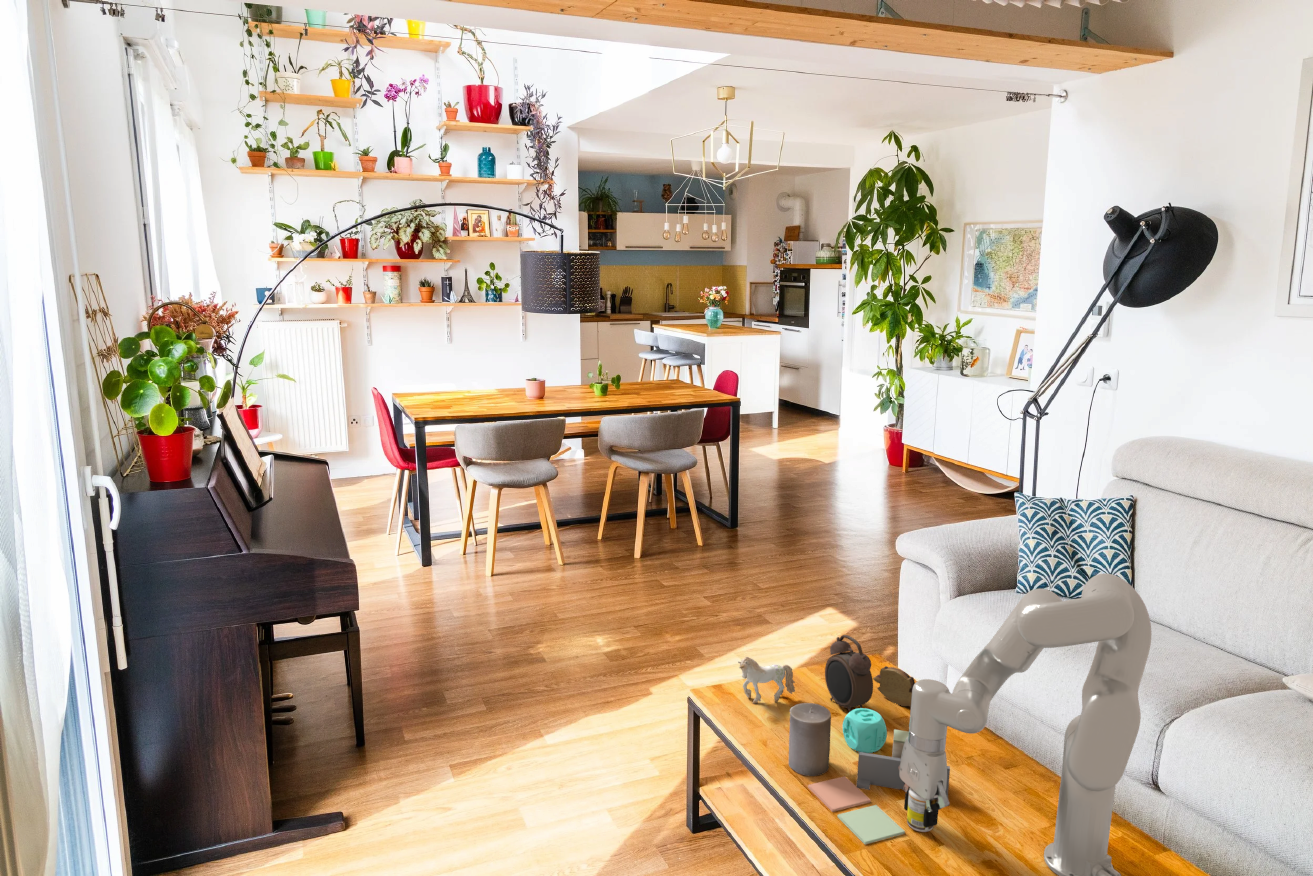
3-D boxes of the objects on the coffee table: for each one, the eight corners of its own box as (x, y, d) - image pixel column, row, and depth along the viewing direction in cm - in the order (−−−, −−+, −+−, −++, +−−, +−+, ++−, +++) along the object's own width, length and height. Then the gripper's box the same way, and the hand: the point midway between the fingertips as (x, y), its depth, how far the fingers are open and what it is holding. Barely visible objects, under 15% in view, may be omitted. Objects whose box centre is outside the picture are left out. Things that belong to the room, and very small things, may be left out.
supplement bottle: (927, 816, 192) (930, 773, 190) (937, 832, 187) (941, 788, 185) (902, 817, 191) (905, 775, 189) (912, 834, 186) (915, 790, 184)
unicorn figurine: (723, 702, 241) (724, 657, 239) (781, 688, 250) (783, 643, 248) (737, 714, 235) (739, 667, 233) (796, 699, 244) (799, 653, 242)
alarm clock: (819, 698, 245) (822, 630, 241) (840, 693, 248) (844, 626, 244) (851, 722, 232) (856, 651, 228) (873, 717, 235) (878, 646, 231)
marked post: (913, 771, 209) (916, 732, 207) (913, 783, 205) (916, 743, 203) (891, 768, 211) (894, 729, 209) (890, 779, 206) (893, 740, 204)
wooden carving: (930, 711, 238) (933, 677, 236) (921, 717, 235) (924, 682, 233) (877, 690, 250) (879, 657, 248) (868, 695, 247) (870, 662, 245)
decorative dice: (857, 756, 216) (859, 725, 214) (841, 739, 223) (842, 710, 222) (886, 751, 218) (888, 721, 217) (868, 735, 226) (870, 706, 224)
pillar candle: (830, 758, 215) (833, 700, 212) (827, 779, 205) (829, 719, 203) (790, 752, 217) (792, 695, 215) (785, 773, 208) (787, 714, 205)
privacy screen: (947, 788, 203) (949, 760, 201) (947, 803, 197) (950, 774, 196) (857, 773, 208) (859, 746, 207) (856, 787, 202) (858, 759, 201)
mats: (904, 833, 186) (904, 831, 186) (864, 844, 182) (865, 842, 182) (844, 778, 206) (844, 776, 206) (807, 787, 202) (807, 785, 202)
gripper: (886, 722, 191) (881, 798, 195) (940, 763, 176) (932, 845, 179) (915, 717, 194) (909, 791, 198) (969, 756, 179) (962, 837, 182)
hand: (920, 816), depth 188 cm, fingers closed on supplement bottle, 5 cm apart
